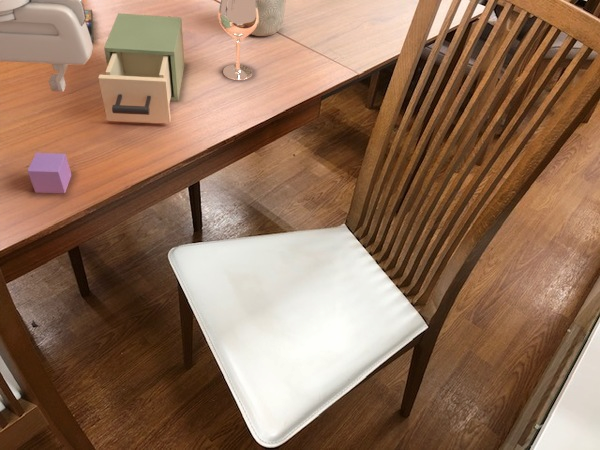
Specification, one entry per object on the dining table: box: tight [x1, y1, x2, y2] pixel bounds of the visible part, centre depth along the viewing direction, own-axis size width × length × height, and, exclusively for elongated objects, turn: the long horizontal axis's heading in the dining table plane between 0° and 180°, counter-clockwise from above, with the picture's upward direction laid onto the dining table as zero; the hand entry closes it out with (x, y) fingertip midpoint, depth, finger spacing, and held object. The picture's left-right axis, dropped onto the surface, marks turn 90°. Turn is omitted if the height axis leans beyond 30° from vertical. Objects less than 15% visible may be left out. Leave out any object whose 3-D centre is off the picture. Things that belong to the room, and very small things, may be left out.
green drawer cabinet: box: [103, 12, 186, 102], centre depth 102 cm, size 15×13×11 cm
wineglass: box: [217, 0, 259, 81], centre depth 105 cm, size 8×8×18 cm
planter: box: [250, 0, 287, 37], centre depth 123 cm, size 12×12×11 cm
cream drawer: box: [97, 52, 173, 124], centre depth 94 cm, size 18×11×9 cm, turn 4°
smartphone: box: [85, 9, 94, 44], centre depth 117 cm, size 8×15×1 cm, turn 16°
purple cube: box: [27, 152, 73, 194], centre depth 80 cm, size 4×4×4 cm
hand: (22, 87), depth 69 cm, fingers open, 8 cm apart
